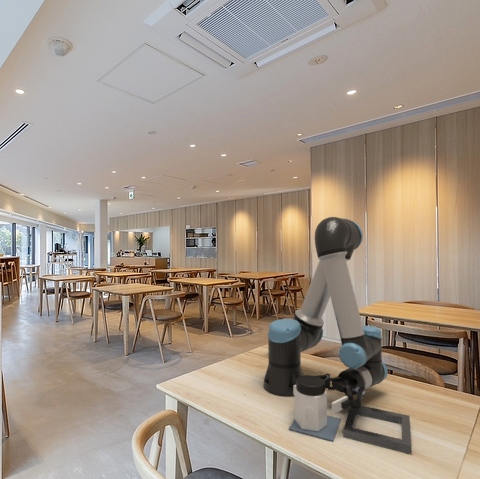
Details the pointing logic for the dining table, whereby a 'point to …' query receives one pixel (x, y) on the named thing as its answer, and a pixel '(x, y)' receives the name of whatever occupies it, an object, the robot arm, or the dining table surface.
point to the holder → (375, 438)
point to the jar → (310, 403)
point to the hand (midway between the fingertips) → (312, 399)
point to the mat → (324, 433)
